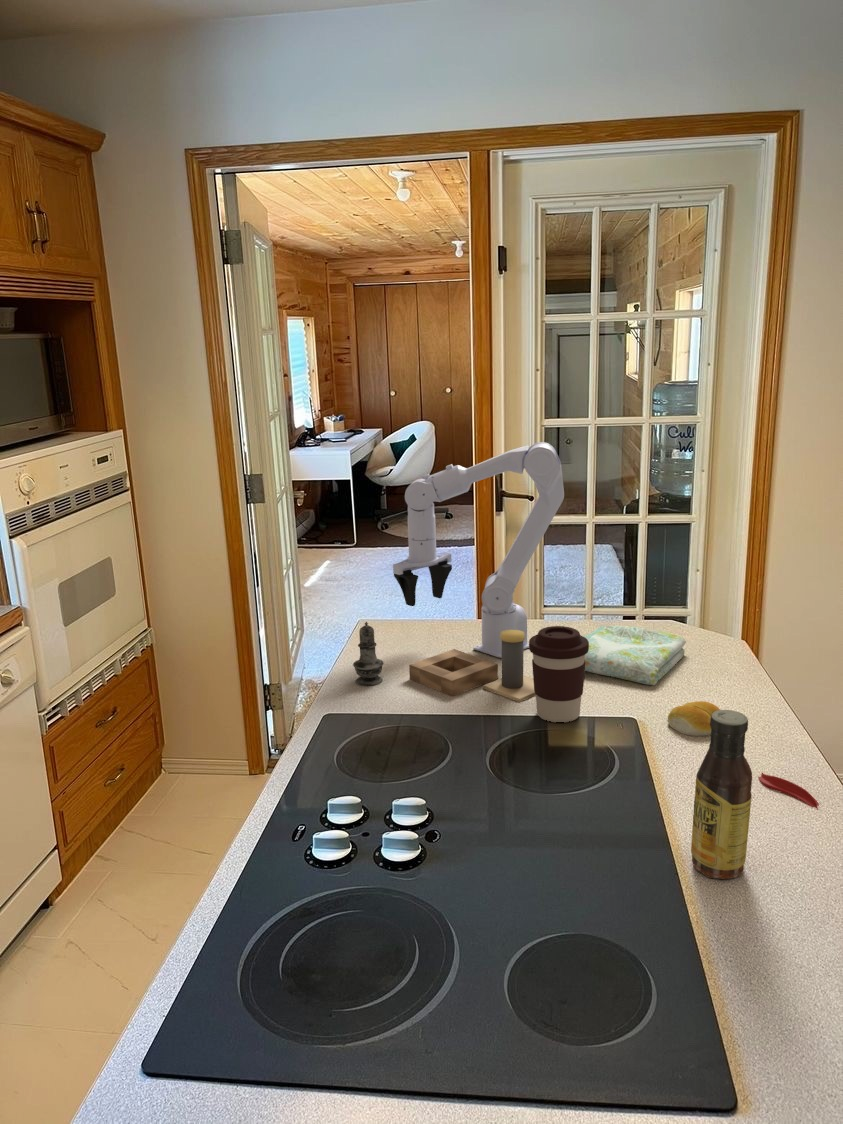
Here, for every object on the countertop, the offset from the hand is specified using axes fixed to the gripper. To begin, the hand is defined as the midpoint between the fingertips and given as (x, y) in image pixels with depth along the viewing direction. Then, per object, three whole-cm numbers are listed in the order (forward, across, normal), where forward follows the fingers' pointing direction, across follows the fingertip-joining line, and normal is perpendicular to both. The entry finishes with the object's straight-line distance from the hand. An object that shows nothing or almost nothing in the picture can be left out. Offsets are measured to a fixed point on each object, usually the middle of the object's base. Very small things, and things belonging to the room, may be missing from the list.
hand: (424, 601), depth 179 cm
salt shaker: (+11, +20, +6) cm, 23 cm away
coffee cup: (+11, +7, +42) cm, 44 cm away
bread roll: (+11, -5, +61) cm, 62 cm away
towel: (+11, -22, +35) cm, 43 cm away
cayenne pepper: (+11, +5, +81) cm, 82 cm away
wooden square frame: (+10, +8, +17) cm, 21 cm away
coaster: (+10, +3, +29) cm, 31 cm away
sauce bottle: (+11, +28, +84) cm, 89 cm away
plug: (+10, +4, +28) cm, 30 cm away
